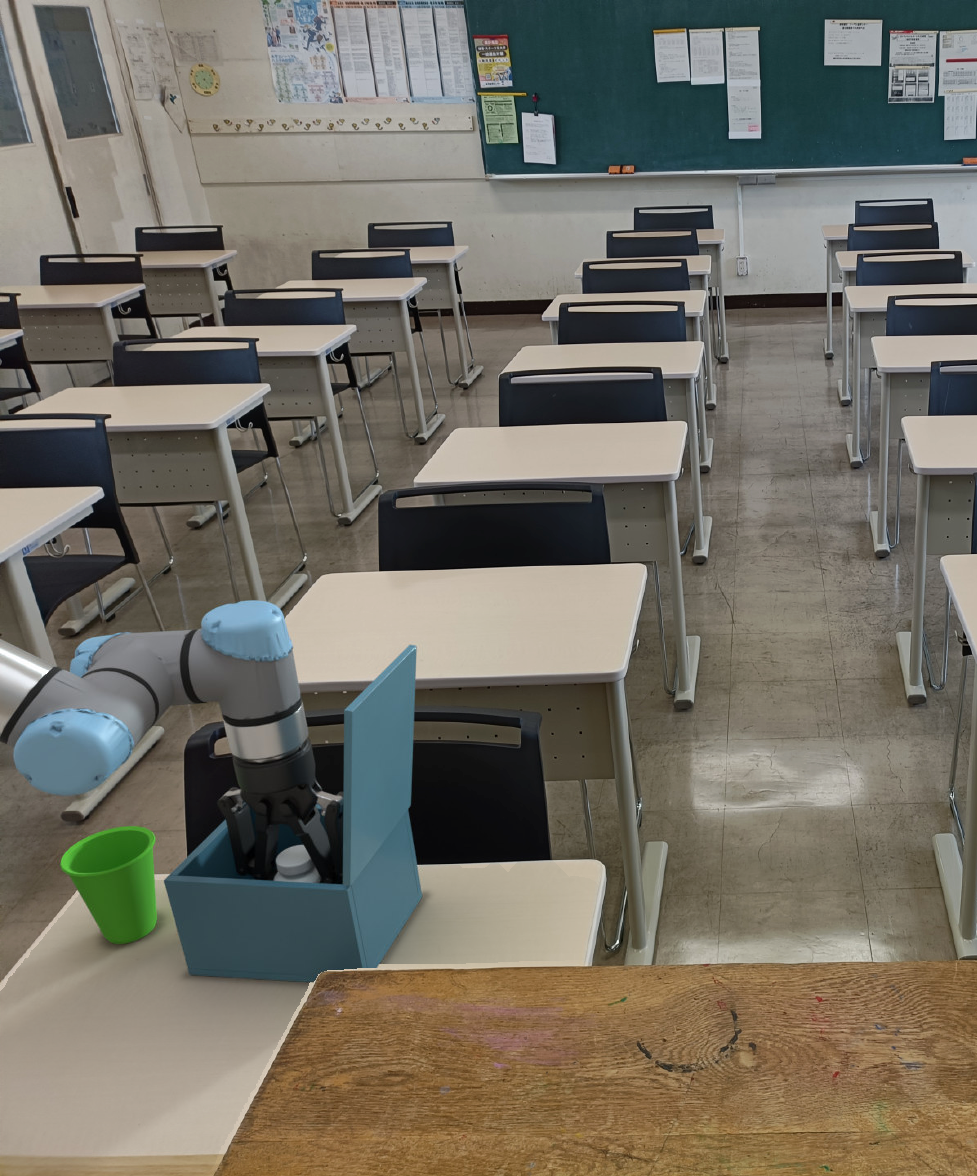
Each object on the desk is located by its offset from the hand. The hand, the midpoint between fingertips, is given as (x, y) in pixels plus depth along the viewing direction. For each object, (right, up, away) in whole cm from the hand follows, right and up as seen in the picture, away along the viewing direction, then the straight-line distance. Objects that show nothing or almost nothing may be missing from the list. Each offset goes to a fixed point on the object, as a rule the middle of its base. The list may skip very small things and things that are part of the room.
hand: (309, 924), depth 118 cm
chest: (0, -1, 0) cm, 1 cm away
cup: (-21, -1, +1) cm, 21 cm away
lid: (+11, +20, -9) cm, 25 cm away
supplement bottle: (0, 0, 0) cm, 0 cm away
